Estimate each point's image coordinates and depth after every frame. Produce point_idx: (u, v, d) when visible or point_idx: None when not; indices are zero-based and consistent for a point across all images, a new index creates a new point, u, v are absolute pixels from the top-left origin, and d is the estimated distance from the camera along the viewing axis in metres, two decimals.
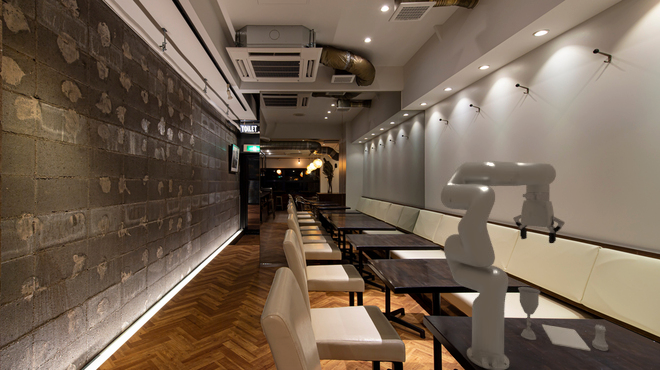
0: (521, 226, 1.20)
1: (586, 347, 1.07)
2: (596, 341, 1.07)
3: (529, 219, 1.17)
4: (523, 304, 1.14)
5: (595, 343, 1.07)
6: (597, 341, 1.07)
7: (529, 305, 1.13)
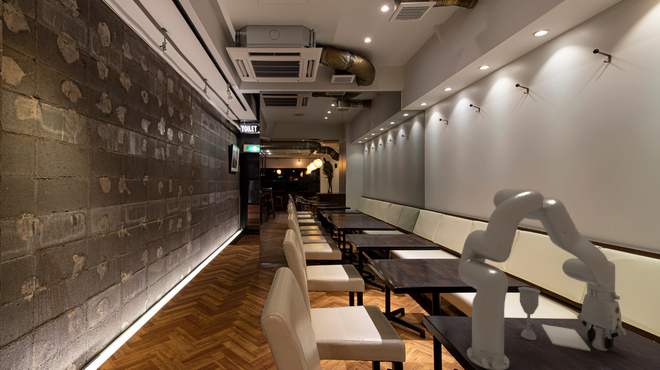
0: None
1: (586, 347, 1.07)
2: (596, 341, 1.07)
3: None
4: (523, 304, 1.14)
5: (595, 343, 1.07)
6: (597, 341, 1.07)
7: (529, 305, 1.13)
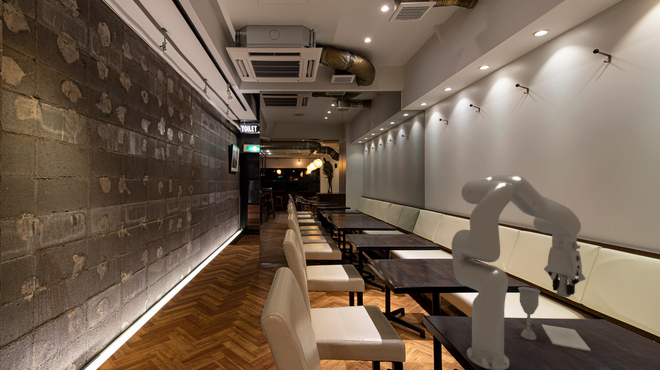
0: None
1: (586, 347, 1.07)
2: (560, 289, 1.16)
3: None
4: (523, 304, 1.14)
5: (559, 290, 1.16)
6: (561, 289, 1.16)
7: (529, 305, 1.13)
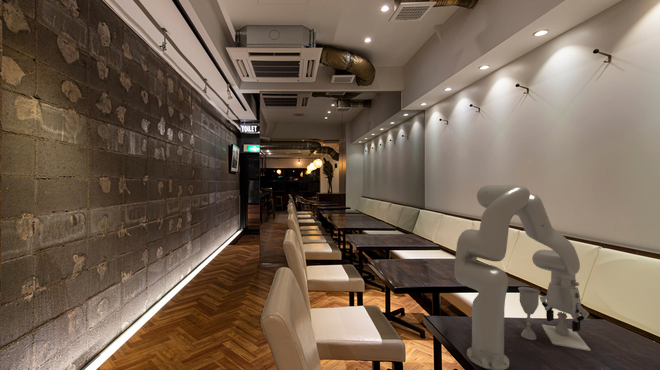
0: None
1: (586, 347, 1.07)
2: (558, 327, 1.16)
3: None
4: (523, 304, 1.14)
5: (557, 329, 1.16)
6: (559, 327, 1.16)
7: (529, 305, 1.13)
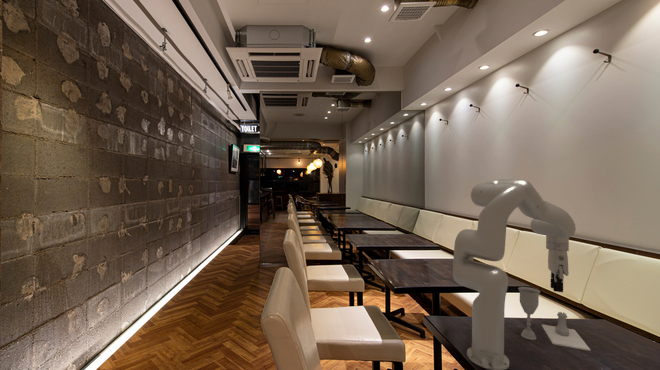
0: None
1: (586, 347, 1.07)
2: (558, 327, 1.16)
3: None
4: (523, 304, 1.14)
5: (557, 329, 1.16)
6: (559, 327, 1.16)
7: (529, 305, 1.13)
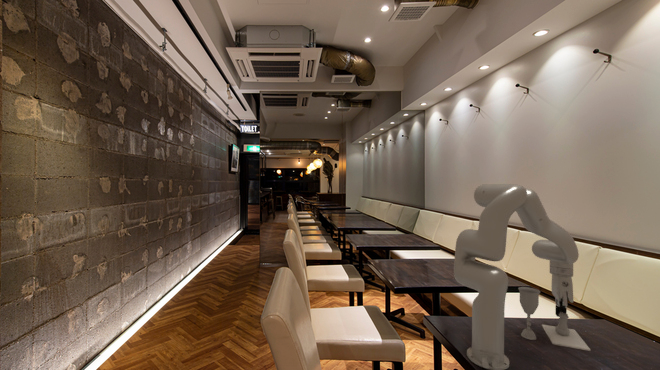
0: None
1: (586, 347, 1.07)
2: (559, 327, 1.16)
3: None
4: (523, 304, 1.14)
5: (558, 329, 1.16)
6: (560, 327, 1.16)
7: (529, 305, 1.13)
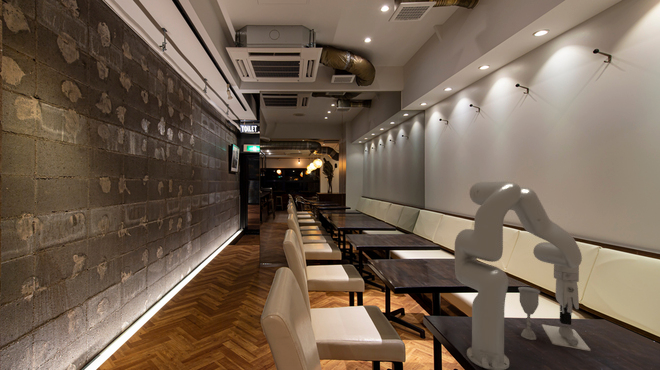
0: None
1: (586, 347, 1.07)
2: (563, 335, 1.12)
3: None
4: (523, 304, 1.14)
5: (561, 334, 1.13)
6: (564, 336, 1.12)
7: (529, 305, 1.13)
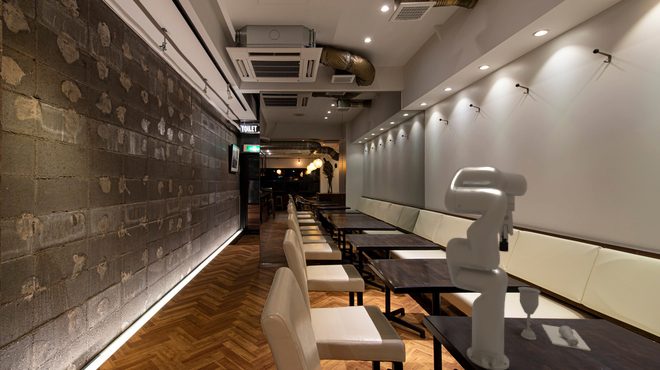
0: None
1: (586, 347, 1.07)
2: (563, 335, 1.12)
3: None
4: (523, 304, 1.14)
5: (561, 334, 1.13)
6: (564, 336, 1.12)
7: (529, 305, 1.13)
